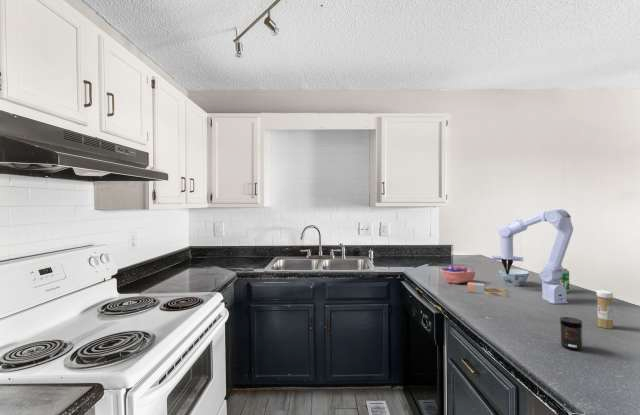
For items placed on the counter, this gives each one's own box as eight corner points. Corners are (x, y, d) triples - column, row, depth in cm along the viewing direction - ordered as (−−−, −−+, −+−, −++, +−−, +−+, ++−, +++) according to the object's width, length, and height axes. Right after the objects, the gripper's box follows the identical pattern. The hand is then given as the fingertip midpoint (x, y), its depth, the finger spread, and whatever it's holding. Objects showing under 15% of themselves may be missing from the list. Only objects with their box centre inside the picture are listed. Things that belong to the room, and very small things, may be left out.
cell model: (480, 287, 180) (479, 267, 180) (443, 286, 183) (442, 267, 183) (470, 280, 197) (470, 262, 197) (437, 279, 200) (436, 262, 200)
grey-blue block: (484, 291, 169) (484, 283, 169) (484, 293, 165) (484, 285, 165) (476, 290, 171) (476, 282, 171) (475, 292, 167) (475, 284, 167)
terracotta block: (476, 290, 171) (476, 282, 171) (475, 292, 167) (475, 284, 167) (468, 289, 173) (468, 282, 173) (467, 291, 169) (467, 284, 169)
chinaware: (535, 287, 176) (535, 273, 176) (508, 288, 176) (508, 274, 176) (519, 281, 191) (518, 268, 191) (494, 281, 191) (493, 269, 191)
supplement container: (579, 345, 105) (579, 318, 105) (585, 352, 100) (585, 324, 100) (558, 342, 108) (557, 315, 108) (562, 349, 102) (562, 321, 102)
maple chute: (508, 292, 168) (508, 288, 168) (508, 299, 156) (508, 295, 156) (467, 288, 178) (467, 284, 178) (464, 294, 166) (464, 290, 166)
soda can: (553, 292, 166) (552, 269, 166) (550, 289, 172) (550, 267, 172) (571, 294, 162) (570, 270, 162) (567, 290, 169) (567, 268, 169)
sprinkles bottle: (594, 324, 122) (593, 290, 122) (604, 324, 122) (604, 289, 122) (605, 329, 117) (605, 293, 117) (617, 328, 118) (616, 292, 118)
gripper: (522, 248, 170) (523, 273, 170) (491, 247, 177) (492, 271, 177) (523, 250, 164) (523, 276, 164) (491, 248, 171) (492, 273, 171)
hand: (507, 273), depth 170 cm, fingers closed
